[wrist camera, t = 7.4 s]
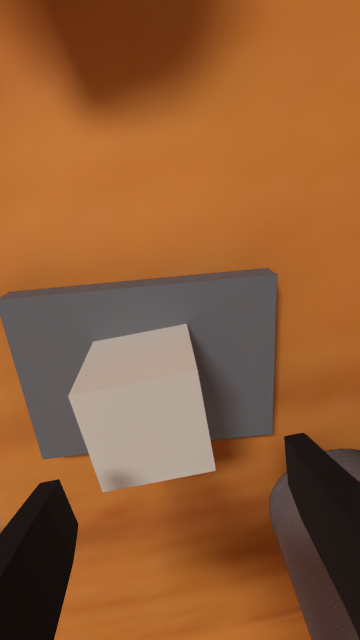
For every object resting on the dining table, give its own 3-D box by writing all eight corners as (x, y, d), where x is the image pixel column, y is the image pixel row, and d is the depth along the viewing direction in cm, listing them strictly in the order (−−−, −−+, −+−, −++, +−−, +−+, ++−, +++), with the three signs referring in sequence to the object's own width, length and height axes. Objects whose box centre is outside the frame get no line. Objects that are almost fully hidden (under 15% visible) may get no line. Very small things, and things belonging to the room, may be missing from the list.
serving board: (267, 268, 18) (277, 274, 16) (264, 418, 21) (272, 433, 20) (8, 292, 17) (-5, 300, 16) (50, 441, 21) (42, 459, 19)
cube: (186, 323, 17) (197, 371, 12) (201, 402, 19) (215, 470, 14) (93, 341, 17) (68, 396, 12) (116, 418, 19) (102, 492, 14)
